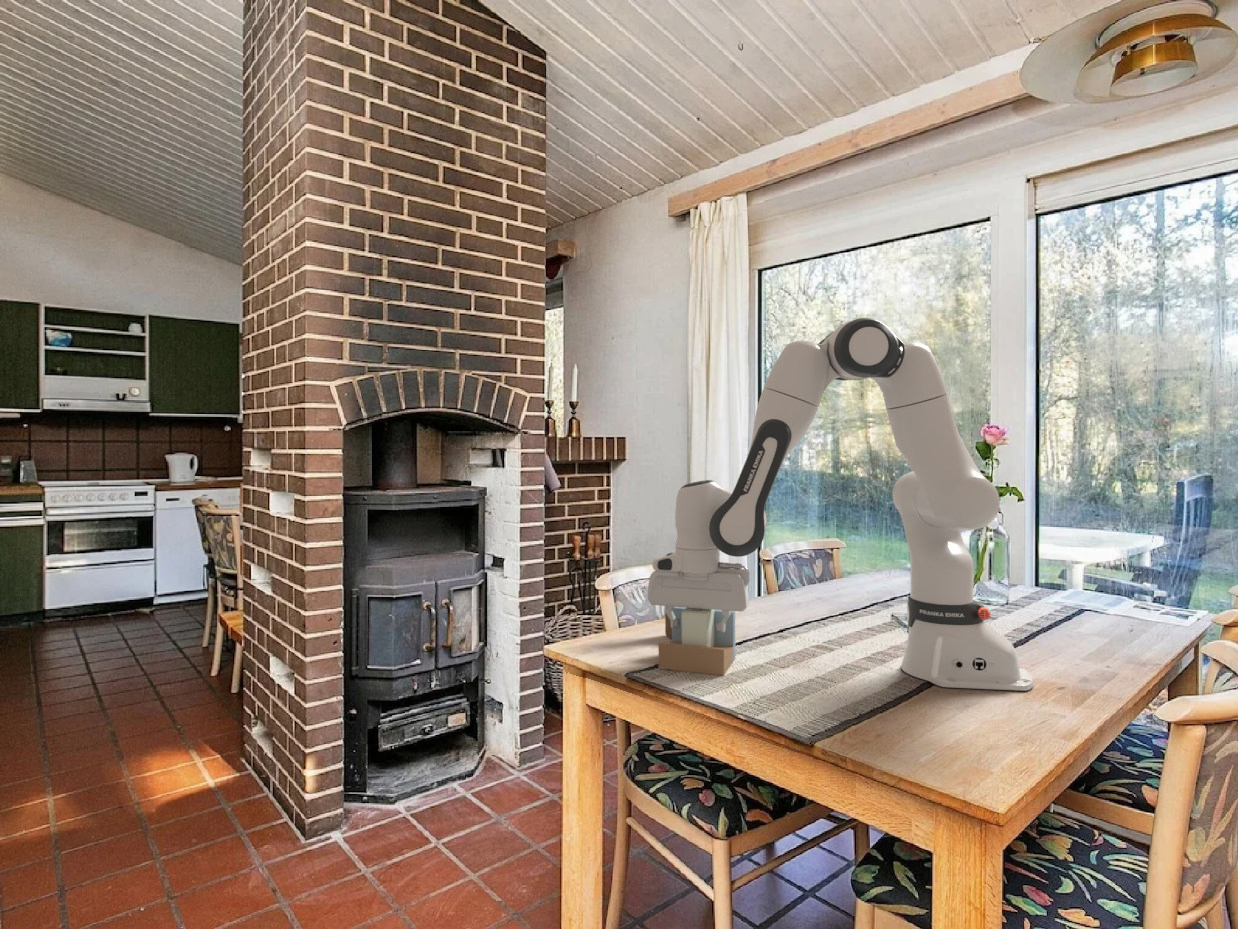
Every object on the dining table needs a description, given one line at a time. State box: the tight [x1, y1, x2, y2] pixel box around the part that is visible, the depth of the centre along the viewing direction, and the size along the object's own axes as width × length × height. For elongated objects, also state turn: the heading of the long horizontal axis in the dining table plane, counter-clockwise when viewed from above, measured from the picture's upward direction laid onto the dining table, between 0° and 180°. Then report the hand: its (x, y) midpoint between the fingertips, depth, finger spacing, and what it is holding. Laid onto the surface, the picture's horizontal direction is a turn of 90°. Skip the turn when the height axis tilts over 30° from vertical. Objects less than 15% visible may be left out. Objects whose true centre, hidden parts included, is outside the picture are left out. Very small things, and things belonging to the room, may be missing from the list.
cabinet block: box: [682, 608, 714, 647], centre depth 145 cm, size 5×7×9 cm
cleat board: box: [658, 607, 736, 677], centre depth 145 cm, size 13×12×10 cm
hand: (697, 629), depth 145 cm, fingers open, 8 cm apart
